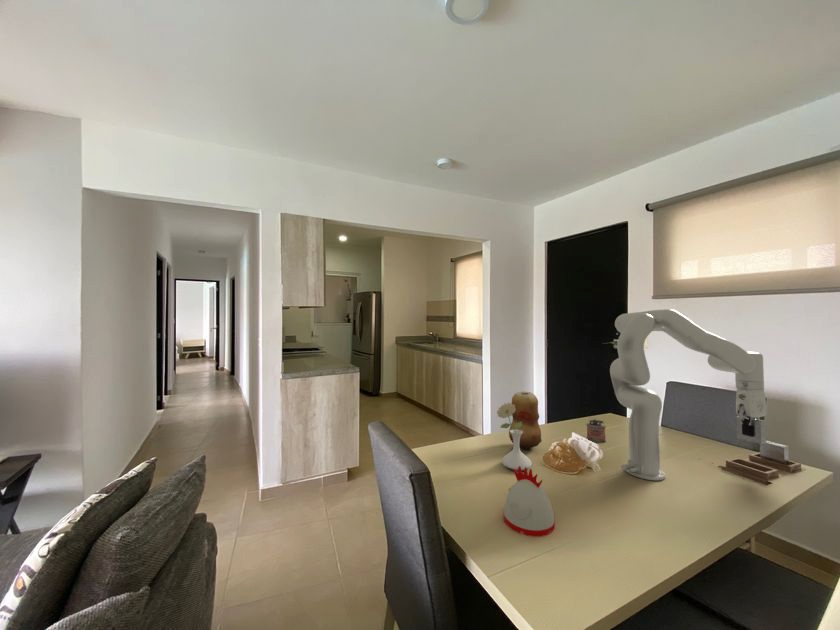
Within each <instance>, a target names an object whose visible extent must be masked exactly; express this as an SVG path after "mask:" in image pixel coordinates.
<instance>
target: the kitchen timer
mask: <svg viewBox="0 0 840 630" xmlns="http://www.w3.org/2000/svg"><path fill="white" fill-rule="evenodd" d="M528 470H529V471H528ZM513 472H514V476H515V477H516V480H517V481H516V482H515V483H514V484H512V485H511V487H510V488H508V493H507V496H506V498H505V499H506V500H505V502H504V506H503V511H502V513H503V520H504V523H505V524H506V526H507V527H508V528H510V529H511V530H513V531H514V532H516V533H518V534H522V535H524V536H527V537H535V538H537V537H545V536H548V535H550V534H552V532H554V530H555V526H556V525H555V523H556V522H555V519H556V518H555V514H554V510H553V506H552V503H551V501H550V498H549V496H548V495H547V492H546V490H545V489H544V488H543V487H542V486H541V484H542V482H543V479H541V480H540V481H539V482H537V478H538V474H535V475H533V469H532V468H529V469H527V468H525V469H524V470H521V467H520V466H519V467H518V470H516V469H514V470H513Z"/></svg>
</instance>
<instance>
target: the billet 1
mask: <svg viewBox="0 0 840 630" xmlns="http://www.w3.org/2000/svg"><path fill="white" fill-rule="evenodd" d="M747 419H748V420H749V418H747ZM735 420H736V438H737V439H739V440H744V441H748V442H751V443H756V444H759V445H760V444H765V443H766V441H767V431H766V430H767V429H766V427H767V425H766V421H765V420H763V419H760V420H759V419H754V418H752V426H754V437H751V436H747V435H743V434H742V424H741V420H740V419H738V416H736V419H735Z"/></svg>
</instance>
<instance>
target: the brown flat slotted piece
mask: <svg viewBox="0 0 840 630" xmlns="http://www.w3.org/2000/svg"><path fill="white" fill-rule="evenodd" d="M720 469H721V471H723V472H727V473H729V474H732V475H735V476H739V477H741V478H744V479H746V480H749V481H753V482H755V483H758V484H761V485H764V486H769V485H772V484H774V482H772V480H776V479H779V478H782V477H785V476H788V475H792V474H796V473H798V472H803V471H806V468H803V467H802V463H799V462H797V461H793V460H789V465H785V464H781V463H778V462H774V461H771V460H768V459H764V458H761V457H760V451H759V452H756V453H751V454H748V459H747V458H746V459H743V458H739V457H733V458H732V459H726V460H725V464H722V465H721V466H720Z"/></svg>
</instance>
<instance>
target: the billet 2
mask: <svg viewBox="0 0 840 630" xmlns="http://www.w3.org/2000/svg"><path fill="white" fill-rule="evenodd" d="M759 452H760V457H761V458H764V459H768V460H771V461H774V462H778V463H781V464H785V465H789V461H790V456H789V455H790V454H789V452H790V450H789V445H785V444H781V443H777V442H773V441H770V440H766V443H765V444H759Z"/></svg>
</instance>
